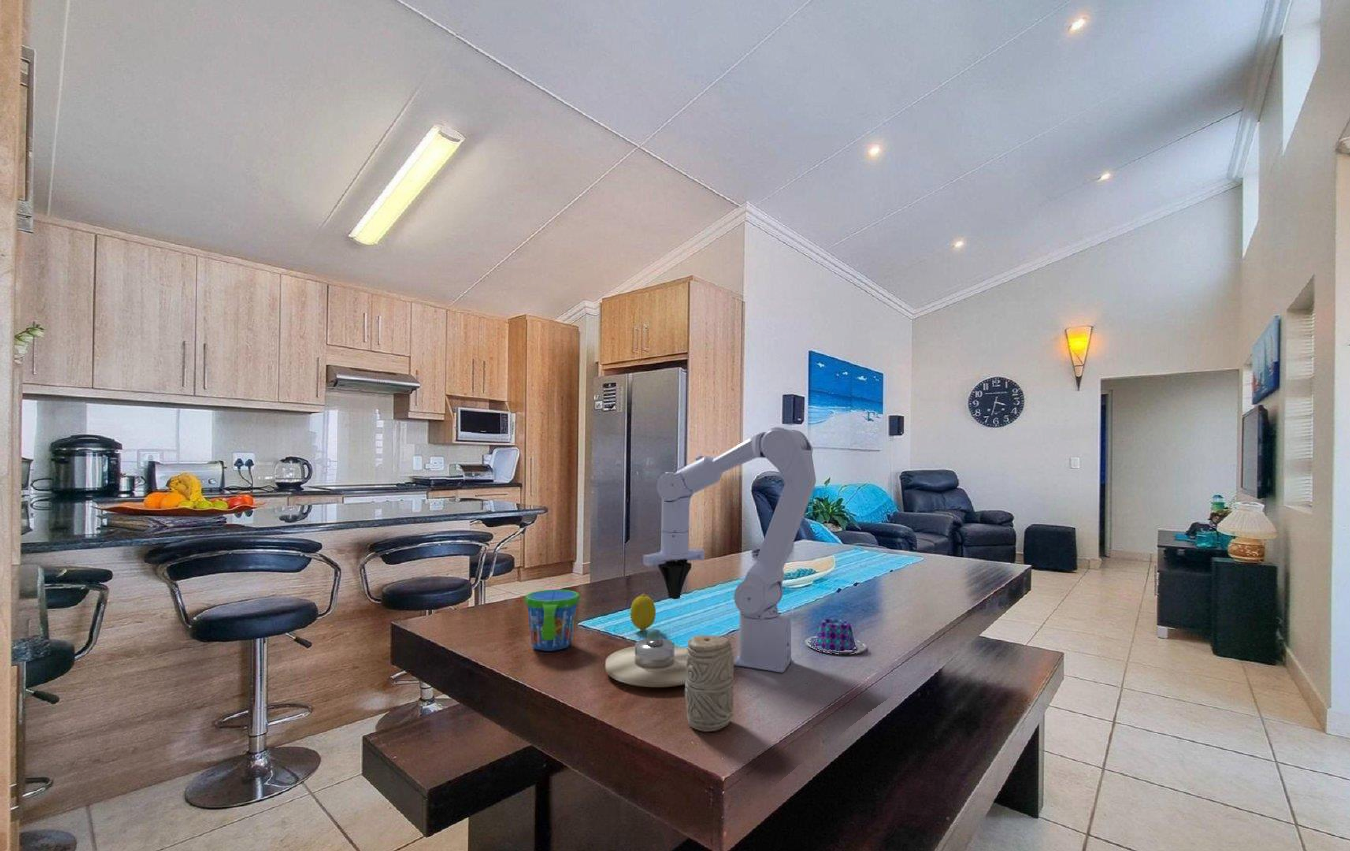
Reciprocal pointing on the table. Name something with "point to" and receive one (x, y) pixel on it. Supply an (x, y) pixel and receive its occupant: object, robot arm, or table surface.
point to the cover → (654, 653)
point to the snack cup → (551, 618)
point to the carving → (709, 682)
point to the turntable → (628, 672)
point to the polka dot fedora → (835, 636)
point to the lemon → (643, 612)
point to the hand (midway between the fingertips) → (674, 598)
